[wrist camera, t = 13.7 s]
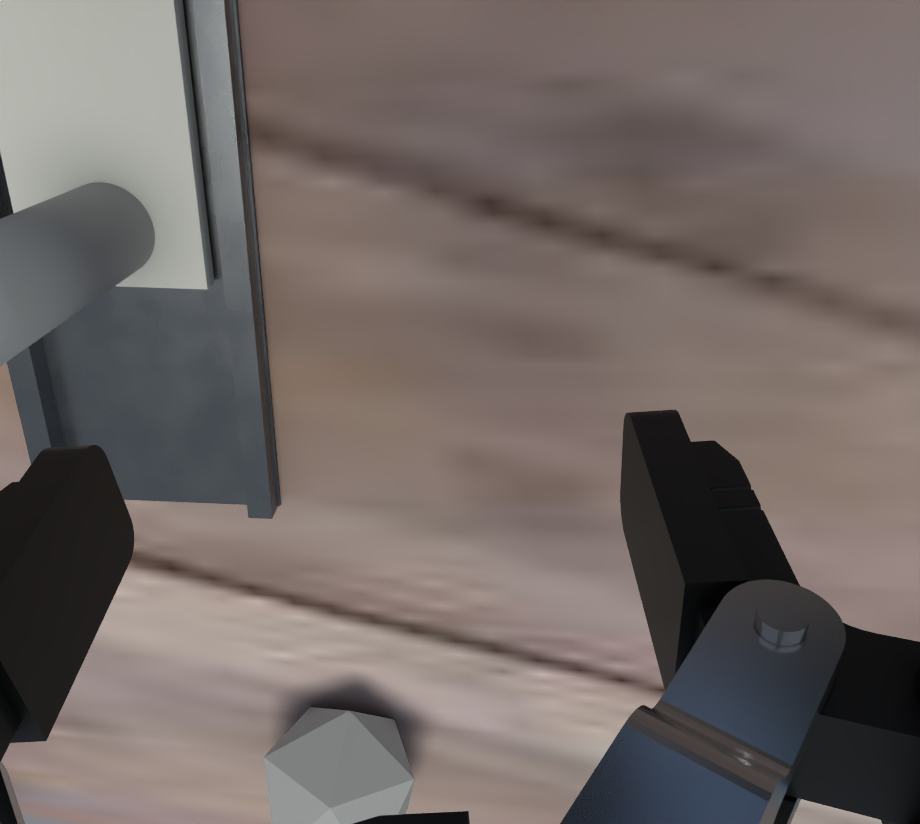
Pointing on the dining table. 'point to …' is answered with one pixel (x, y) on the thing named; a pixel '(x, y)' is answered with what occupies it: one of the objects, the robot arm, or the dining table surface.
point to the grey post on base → (95, 159)
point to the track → (174, 332)
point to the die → (338, 769)
